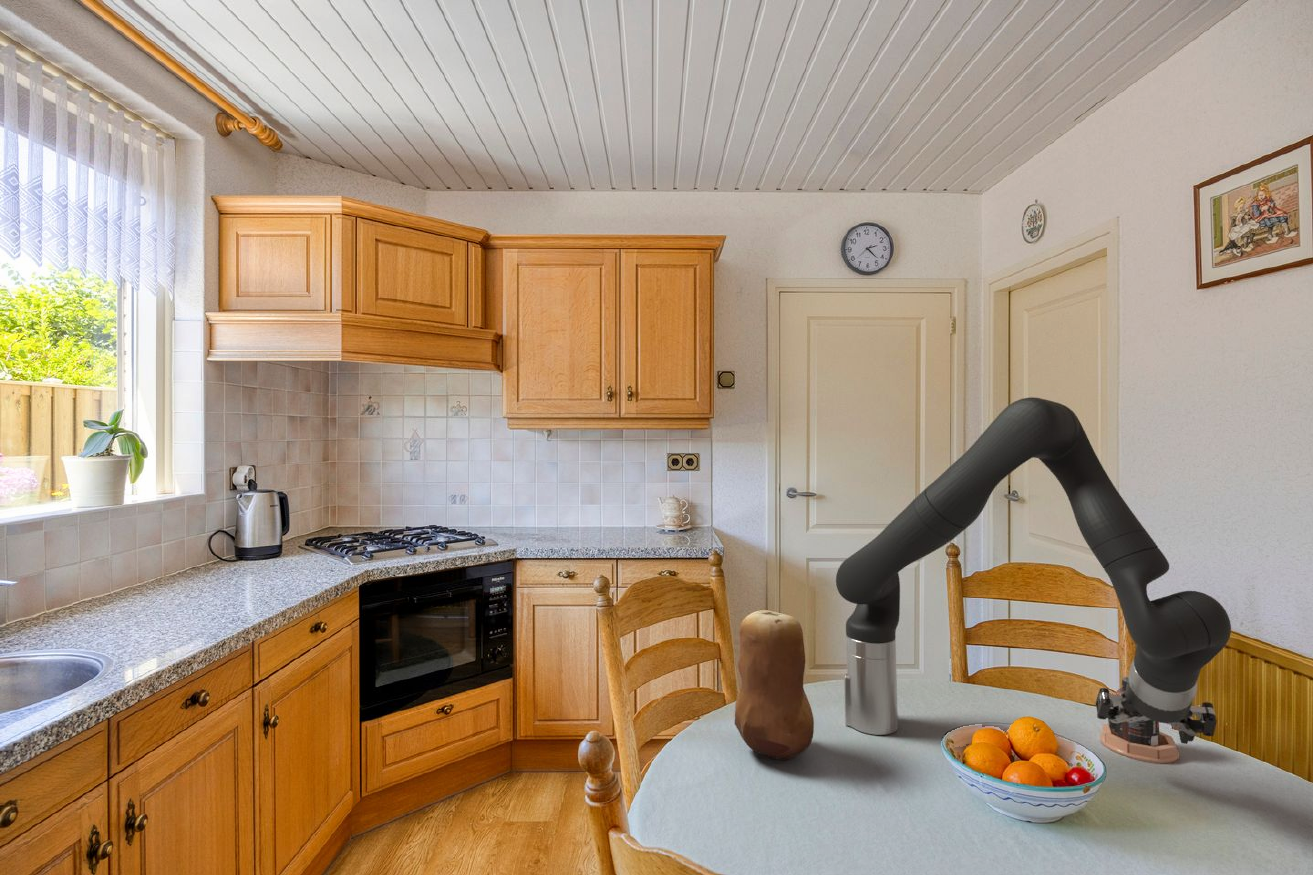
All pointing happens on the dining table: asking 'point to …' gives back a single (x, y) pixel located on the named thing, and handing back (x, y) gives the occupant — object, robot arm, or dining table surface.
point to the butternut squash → (773, 686)
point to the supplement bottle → (1138, 727)
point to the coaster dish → (1141, 747)
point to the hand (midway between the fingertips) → (1148, 731)
